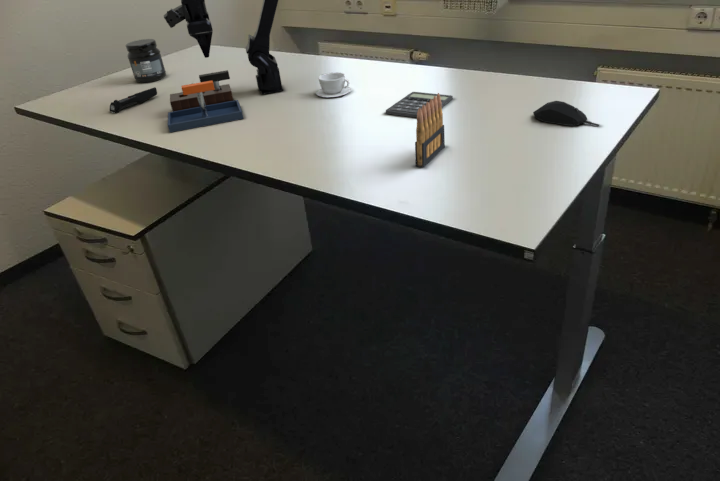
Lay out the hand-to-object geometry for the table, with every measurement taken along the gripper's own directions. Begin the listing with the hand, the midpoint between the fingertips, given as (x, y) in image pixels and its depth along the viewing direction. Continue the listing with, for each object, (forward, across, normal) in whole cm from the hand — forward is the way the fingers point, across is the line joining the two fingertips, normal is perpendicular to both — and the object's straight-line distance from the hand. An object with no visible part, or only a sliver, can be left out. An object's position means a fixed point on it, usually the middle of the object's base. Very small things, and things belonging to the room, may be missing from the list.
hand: (206, 53), depth 153 cm
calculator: (+13, +37, +49) cm, 63 cm away
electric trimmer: (+13, -9, -24) cm, 29 cm away
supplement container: (+13, -36, -20) cm, 43 cm away
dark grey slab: (+13, +7, +1) cm, 15 cm away
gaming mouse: (+13, +63, +74) cm, 98 cm away
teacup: (+13, +14, +32) cm, 37 cm away
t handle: (+12, +16, -4) cm, 21 cm away
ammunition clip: (+13, +66, +40) cm, 78 cm away
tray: (+13, +16, -4) cm, 21 cm away
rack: (+13, +7, -4) cm, 15 cm away
